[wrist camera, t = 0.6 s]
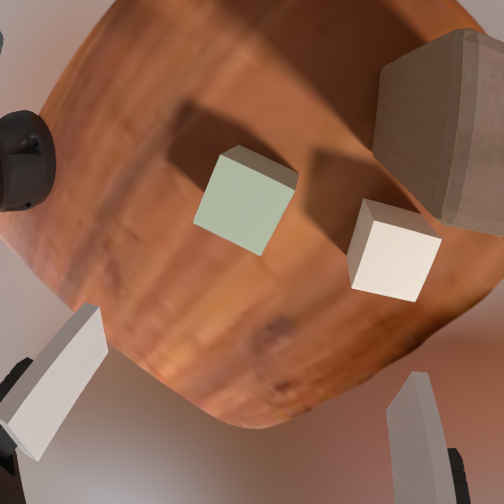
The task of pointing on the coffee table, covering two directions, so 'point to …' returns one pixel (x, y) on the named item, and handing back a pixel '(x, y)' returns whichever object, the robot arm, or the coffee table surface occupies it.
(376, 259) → the cream cube
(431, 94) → the wooden block
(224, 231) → the sage cube
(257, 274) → the coffee table surface
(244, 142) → the coffee table surface
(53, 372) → the robot arm
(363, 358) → the coffee table surface
